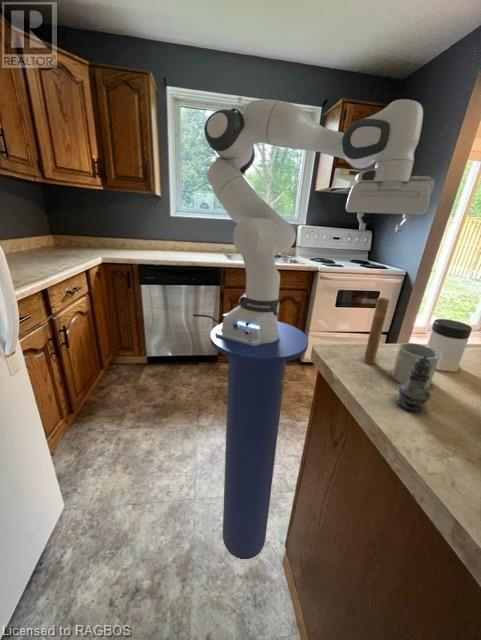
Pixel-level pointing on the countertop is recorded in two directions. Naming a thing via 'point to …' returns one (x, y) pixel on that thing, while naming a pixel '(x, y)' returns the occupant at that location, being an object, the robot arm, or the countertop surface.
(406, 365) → the tin
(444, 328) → the jar
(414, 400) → the grey stone figurine
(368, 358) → the stick
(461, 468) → the countertop surface
